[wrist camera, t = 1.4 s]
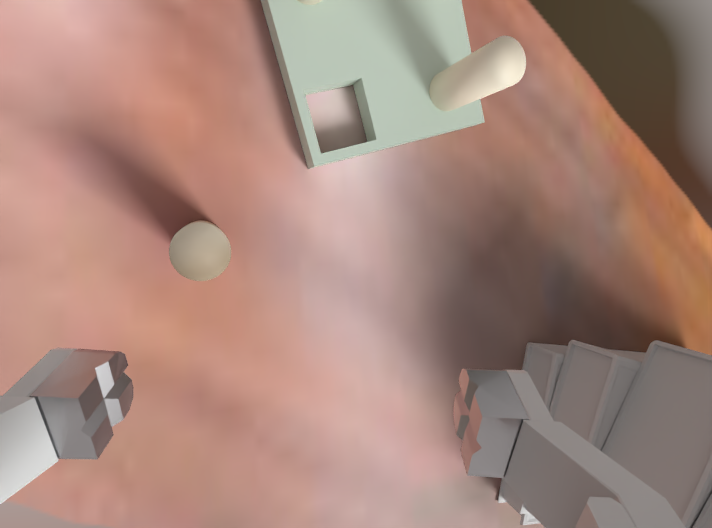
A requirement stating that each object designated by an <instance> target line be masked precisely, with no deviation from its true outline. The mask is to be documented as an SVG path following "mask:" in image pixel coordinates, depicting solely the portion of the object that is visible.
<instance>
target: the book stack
mask: <svg viewBox="0 0 712 528" xmlns="http://www.w3.org/2000/svg"><path fill="white" fill-rule="evenodd" d="M522 370H525V371H526V372H528V374H529V376H530V378H531V379H532V381H533V383H534V385H535V387H536V389H537V391H538V392H539V394H540V396H541V398H542V400H543V402H544V404H545V405H546V407H547V409H548V411H549V413H550V415H551V416H552V418H553V420H554V421H559V422H562V423H563V424H564V425H566V426H567V427H568V428H570V429H571V430H573V431H574V432H575V433H577V434H578V435H579V436H581V437H582V438H584V439H585V440H586V441H588V442H589V443H590V444H592V445H593V446H595V447H596V448H597V449H599V450H600V451H601V452H603V453H604V454H605V455H607V456H608V457H610V458H611V459H612V460H614V461H615V462H616V463H618V464H619V465H621V466H622V467H623V468H625V469H626V470H627V471H629V472H630V473H631V474H633V475H634V476H636V477H637V478H638V479H640V480H641V481H642V482H644V483H645V484H647V485H648V486H649V487H651V488H652V489H653V490H655V491H656V492H658V493H659V494H660V495H662V496H663V497H664V498H666V500H667V501H668V502H669V504H670V505H671V507H672V508H673V510H674V511H675V513H676V514H677V516H678V517H679V518H680V520H681V521H682V523H683V524H684V526H685V527H686V528H712V356H711V355H708V354H704V353H701V352H697V351H694V350H690V349H686V348H683V347H679V346H676V345H672V344H669V343H665V342H662V341H658V340H655V341H653V342H651V343H650V345H649V348H648V350H647V352H634V351H623V350H611V349H605V348H601V347H597V346H594V345H590V344H587V343H583V342H579V341H576V340H571V341H570V342H569V343H568V346H565V345H553V344H541V343H530V342H529V343H527V346H526V351H525V357H524V362H523V367H522ZM504 479H505V478H502V480H501V486H500V491H499V497H498V503H502V502H508V503H509V504H510V505H511V506H512V507H513V508H514V509H515V510H516V511H517V512H518V513H519V514H520V515H521V521H520V524H521V525H528V524H537V523H541V522H540V520H539V519H538V518H537V517H536V516H535V515H534V514H533V512H532V511H531V510H530V509H529V508H528V507H527V506H526V504H525V503H524V502H523V501H522V500H521V499H520V498H519V496H518V495H517V494H516V493H515V492H514V491H513V490H512V488H511V487H510V486H509V485H508V484H507V483H506V482H505V480H504ZM541 524H542V523H541ZM542 525H543V524H542ZM543 526H544V525H543ZM544 527H545V526H544Z"/></svg>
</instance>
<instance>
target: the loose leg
mask: <svg viewBox="0 0 712 528" xmlns="http://www.w3.org/2000/svg"><path fill="white" fill-rule="evenodd" d="M169 256H170V260H171V263H172V265H173V266H174V268H175V269H176V270H177V272H179V273H180V274H181V275H182V276H184V277H186V278H188V279H191V280H195V281H206V280H210V279H213V278H215V277H217V276H219V275H220V274H221V273H222V272H223V271H224V270H225V269H226V267H227V266H228V264H229V262H230V258H231V246H230V243H229V241H228V239H227V237H226V236H225V234H224V233H223V232H222V231H221V230H220V229H219V228H218V227H217V226H216V225H215V224H213V223H211V222H209V221H204V220H198V221H194V222H191V223H189V224H188V225H186V226H185V227H183V228H182V229H180V230H179V231H178V232H177V233H176V234H175V235H174V237H173V239H172V241H171V243H170V248H169Z"/></svg>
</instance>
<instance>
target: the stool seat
mask: <svg viewBox="0 0 712 528" xmlns="http://www.w3.org/2000/svg"><path fill="white" fill-rule="evenodd" d="M261 4H262V7H263V11H264V14H265V18H266V21H267V25H268V28H269V32H270V35H271V39H272V42H273V46H274V49H275V53H276V57H277V60H278V64H279V67H280V71H281V74H282V78H283V81H284V85H285V88H286V92H287V95H288V99H289V103H290V106H291V110H292V113H293V117H294V120H295V124H296V127H297V131H298V134H299V138H300V141H301V145H302V149H303V152H304V156H305V159H306V163H307V166H308V169H310V168H314V167H318V166H322V165H326V164H330V163H333V162H337V161H341V160H345V159H349V158H353V157H356V156H360V155H364V154H368V153H372V152H376V151H379V150H383V149H387V148H391V147H395V146H399V145H403V144H406V143H410V142H414V141H418V140H422V139H426V138H429V137H433V136H437V135H441V134H445V133H449V132H452V131H456V130H460V129H464V128H468V127H472V126H475V125H478V124H481V123H484V117H483V111H482V106H481V101H480V99H481V98H483V97H486V96H488V95H491V94H493V93H495V92H498V91H500V90H503V89H505V88H507V87H510V86H512V85H514V84H516V83H518V82H519V81H520V80H521V78H522V77H523V75H524V72H525V68H526V57H525V53H524V50H523V48H522V46H521V45H520V43H519V42H518V41H517V40H516V39H514V38H512V37H510V36H501V37H498V38H496V39H495V40H493V41H491V42H490V43H488V44H486V45H485V46H483V47H481V48H480V49H478V50H476V51H475V52H473V53H471V49H470V43H469V38H468V33H467V28H466V22H465V17H464V12H463V7H462V2H461V0H261ZM351 85H353V87H354V91H355V95H356V99H357V103H358V107H359V111H360V115H361V119H362V123H363V127H364V131H365V135H366V139H367V142H365V143H361V144H357V145H353V146H349V147H346V148H342V149H338V150H334V151H330V152H326V153H322V154H321V151H320V148H319V144H318V140H317V137H316V133H315V129H314V126H313V122H312V119H311V115H310V111H309V108H308V104H307V100H306V97H305V95H307V94H312V93H317V92H322V91H327V90H331V89H336V88H341V87H346V86H351Z"/></svg>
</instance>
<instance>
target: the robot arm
mask: <svg viewBox="0 0 712 528" xmlns="http://www.w3.org/2000/svg"><path fill="white" fill-rule="evenodd" d="M127 366H128V363H127V360H126V356H125V354H124V353H122V352H119V351H105V350H91V349H71V348H55V349H52V350H50V351H49V352H48V353H47V354H46V355H45V356H44V357H43V358H42V359H41V360H40V361H39V362H38V363H37V364H36V365H35V366H34V367H33V368H31V369H30V370H29V371H28V372H27V373H26V374H25V375H24V376H23V377H22V378H21V379H20V380H19V381H18V382H17V383H16V384H15V385H14V386H13V387H11V388H10V389H9V390H8V391H7V392H6V393H5V394H4V395H3V396H0V504H1V503H3V502H4V501H5V500H7V499H8V498H9V497H11V496H12V495H13V494H15V493H16V492H17V491H19V490H20V489H21V488H23V487H24V486H25V485H27V484H28V483H29V482H31V481H32V480H33V479H35V478H36V477H37V476H39V475H40V474H41V473H43V472H44V471H46V470H47V469H48V468H50V467H51V466H52V465H54V464H55V463H56V462H58V459H98V458H99V456H100V455H101V453H102V452H103V450H104V449H105V447H106V446H107V444H108V443H109V441H110V440H111V438H112V436H113V430H112V426H114V425H115V424H117V423H119V422H120V421H122V420H123V419H124V418H125V416H126V414H127V413H128V411H129V410H130V406H131V403H132V400H133V384H132V380H131V379H130V378H129V377H128V376H127V375H126V374H125V373H124V370H125V369H126V368H127ZM458 381H459V385H460V388H461V391H459V392H458V393H457V394H456V395H455V400H454V406H453V418H454V426H455V430H456V434H457V435H458V436H459V437H460V438H461V439H462V440H463V442H462V446H461V454H462V458H463V461H464V465H465V469H466V473H467V475H468V476H482V477H496V478H505V479H504V480H505V482H506V483H507V484H508V485H509V486H510V487H511V488H512V490H513V491H514V492H515V493H516V494H517V495H518V496H519V498H520V499H521V500H522V501H523V502H524V503H525V504H526V506H527V507H528V508H529V509H530V510H531V511H532V512H533V514H534V515H535V516H536V517H537V518H538V519H539V520H540V522H541V523H542V524H543V525H544V526H545V527H546V528H686V527H685V526H684V524H683V523H682V521H681V520H680V518H679V517H678V516H677V514H676V513H675V511H674V510H673V508H672V507H671V505H670V504H669V502H668V501H667V500H666V498H664V497H663V496H662V495H660V494H659V493H658V492H656V491H655V490H653V489H652V488H651V487H649V486H648V485H647V484H645V483H644V482H642V481H641V480H640V479H638V478H637V477H636V476H634V475H633V474H631V473H630V472H629V471H627V470H626V469H625V468H623V467H622V466H621V465H619V464H618V463H616V462H615V461H614V460H612V459H611V458H610V457H608V456H607V455H605V454H604V453H603V452H601V451H600V450H599V449H597V448H596V447H595V446H593V445H592V444H590V443H589V442H588V441H586V440H585V439H584V438H582V437H581V436H579V435H578V434H577V433H575V432H574V431H573V430H571V429H570V428H568V427H567V426H566V425H564V424H563V423H562V422H559V421H554V420H553V418H552V416H551V415H550V413H549V411H548V409H547V407H546V405H545V404H544V402H543V400H542V398H541V396H540V394H539V392H538V391H537V389H536V387H535V385H534V383H533V381H532V379H531V378H530V376H529V374H528V372H526V371H525V370H492V369H469V368H463V369H462V370H461V372H460V376H459V380H458Z"/></svg>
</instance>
